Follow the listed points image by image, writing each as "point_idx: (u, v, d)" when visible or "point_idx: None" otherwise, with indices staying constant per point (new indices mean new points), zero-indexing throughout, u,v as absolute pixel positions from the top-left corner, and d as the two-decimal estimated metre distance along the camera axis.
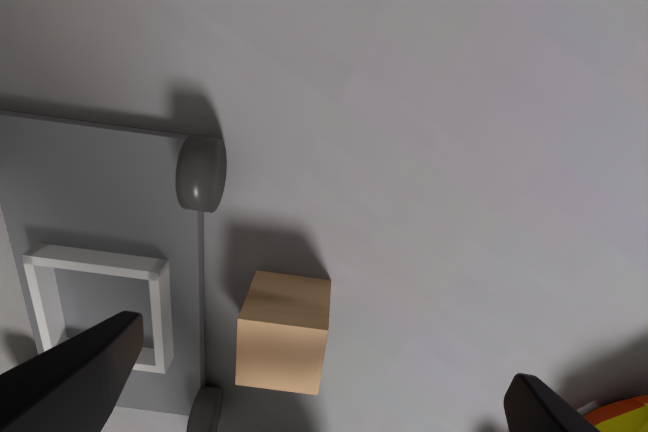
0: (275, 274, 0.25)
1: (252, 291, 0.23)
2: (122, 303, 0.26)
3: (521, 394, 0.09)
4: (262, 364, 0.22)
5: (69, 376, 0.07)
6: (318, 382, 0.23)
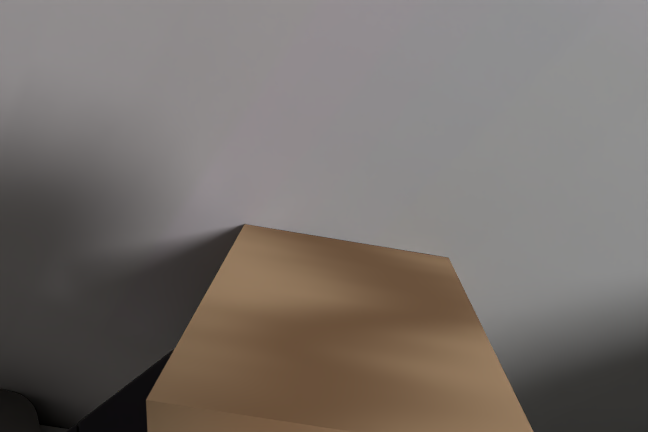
0: None
1: None
2: None
3: None
4: None
5: None
6: None
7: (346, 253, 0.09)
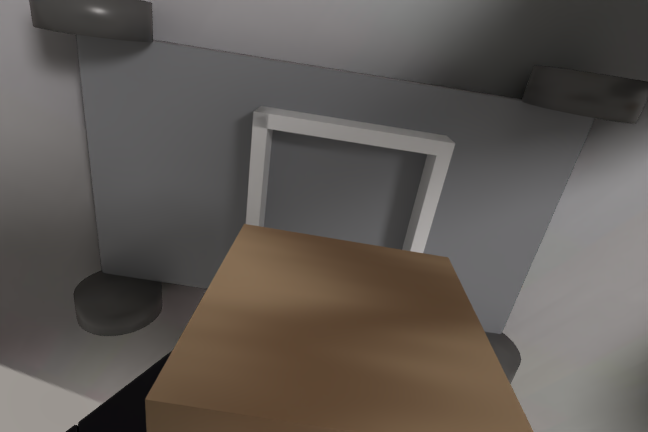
0: None
1: None
2: (338, 190, 0.18)
3: None
4: None
5: None
6: None
7: (346, 253, 0.09)
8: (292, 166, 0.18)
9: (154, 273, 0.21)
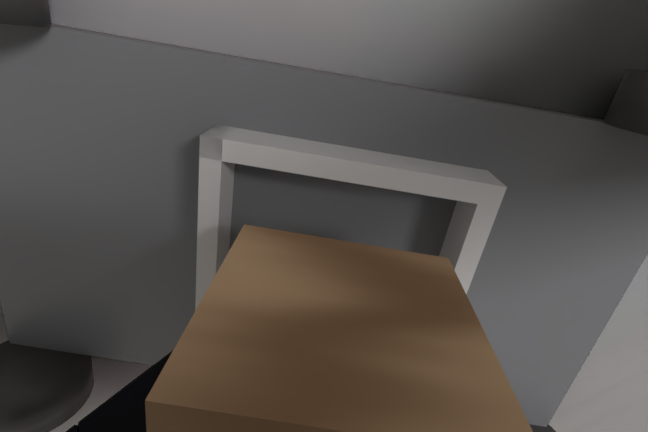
0: None
1: None
2: None
3: None
4: None
5: None
6: None
7: (346, 253, 0.09)
8: (264, 209, 0.12)
9: (80, 345, 0.15)
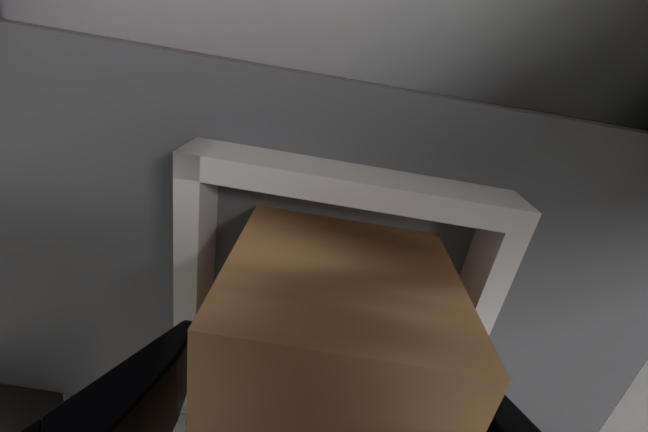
0: None
1: None
2: None
3: None
4: None
5: (150, 389, 0.07)
6: (442, 374, 0.06)
7: (347, 229, 0.10)
8: None
9: (49, 381, 0.13)
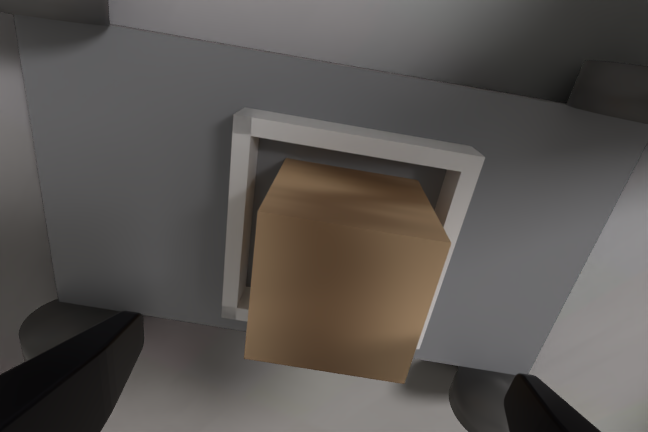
0: None
1: None
2: None
3: (521, 394, 0.09)
4: (352, 335, 0.11)
5: (69, 376, 0.07)
6: (409, 239, 0.10)
7: (351, 174, 0.14)
8: None
9: (120, 303, 0.17)
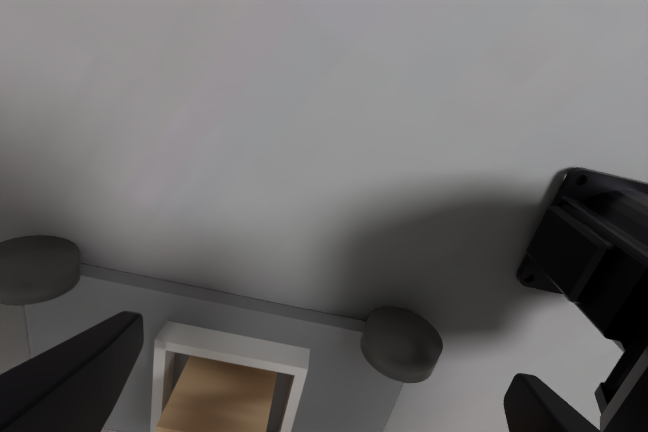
0: None
1: None
2: None
3: (521, 394, 0.09)
4: None
5: (69, 376, 0.07)
6: None
7: (233, 363, 0.22)
8: None
9: None
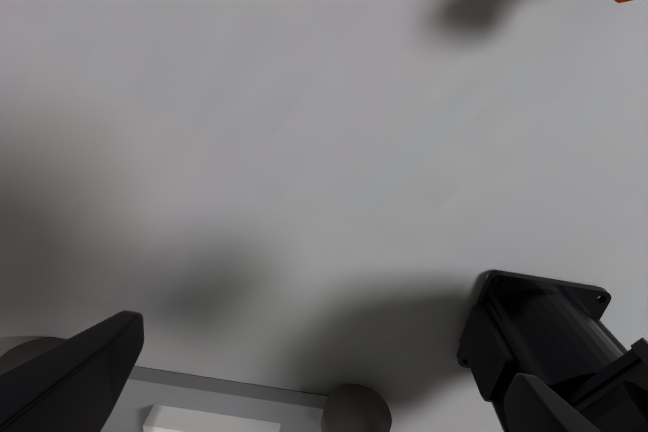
0: None
1: None
2: None
3: (521, 394, 0.09)
4: None
5: (69, 376, 0.07)
6: None
7: None
8: None
9: None
